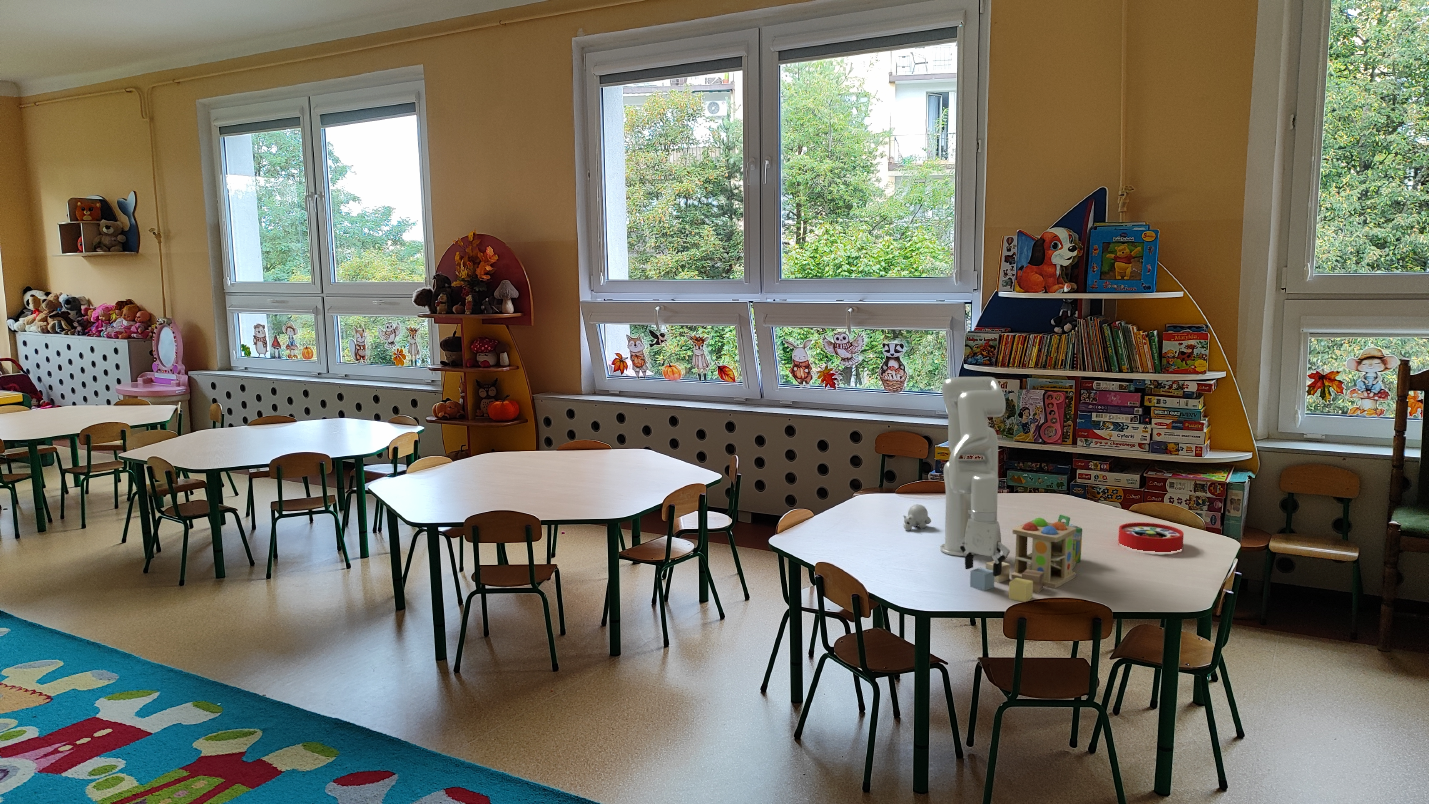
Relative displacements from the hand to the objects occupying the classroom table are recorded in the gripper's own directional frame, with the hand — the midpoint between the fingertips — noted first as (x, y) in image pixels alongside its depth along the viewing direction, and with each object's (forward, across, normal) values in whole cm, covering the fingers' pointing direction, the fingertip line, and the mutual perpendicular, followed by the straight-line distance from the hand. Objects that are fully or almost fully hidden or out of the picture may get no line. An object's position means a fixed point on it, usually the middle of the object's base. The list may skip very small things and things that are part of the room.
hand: (982, 571), depth 278 cm
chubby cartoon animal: (+4, -54, +37) cm, 66 cm away
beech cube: (+5, -2, +10) cm, 11 cm away
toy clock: (+4, +14, +77) cm, 78 cm away
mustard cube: (+5, +12, 0) cm, 14 cm away
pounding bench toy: (+5, +7, +25) cm, 27 cm away
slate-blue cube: (+5, 0, 0) cm, 5 cm away
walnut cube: (+5, +10, +10) cm, 15 cm away
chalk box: (+4, +2, +41) cm, 41 cm away
